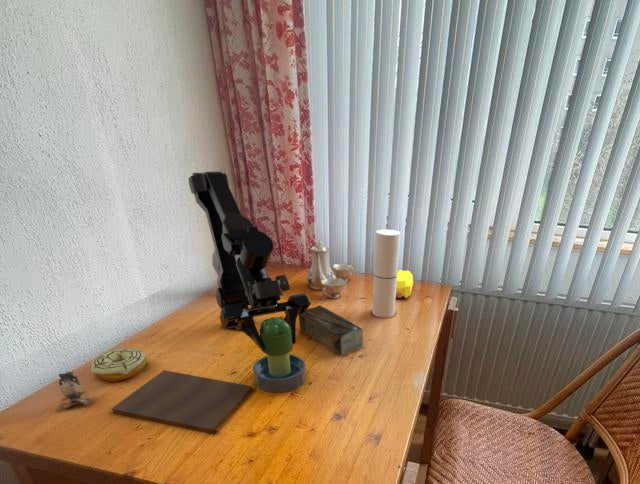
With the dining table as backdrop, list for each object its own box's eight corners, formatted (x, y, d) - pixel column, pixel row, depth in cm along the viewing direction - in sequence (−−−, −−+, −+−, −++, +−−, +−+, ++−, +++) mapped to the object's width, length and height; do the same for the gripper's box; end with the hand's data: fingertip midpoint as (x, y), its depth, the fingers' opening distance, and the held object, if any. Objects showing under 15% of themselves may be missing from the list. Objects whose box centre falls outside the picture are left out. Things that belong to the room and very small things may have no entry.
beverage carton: (340, 357, 99) (340, 334, 95) (298, 331, 110) (296, 309, 106) (363, 348, 104) (364, 325, 100) (320, 324, 115) (319, 303, 111)
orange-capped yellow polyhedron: (387, 299, 134) (409, 302, 133) (388, 280, 130) (411, 283, 130) (393, 282, 149) (413, 284, 148) (395, 265, 145) (415, 267, 144)
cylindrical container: (368, 314, 122) (371, 232, 108) (377, 306, 128) (381, 228, 114) (389, 319, 120) (395, 236, 106) (397, 311, 126) (404, 231, 112)
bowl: (245, 389, 85) (243, 374, 83) (269, 364, 94) (267, 350, 92) (294, 398, 83) (292, 383, 81) (313, 372, 93) (312, 357, 90)
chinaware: (346, 307, 130) (352, 258, 121) (297, 299, 129) (299, 249, 120) (353, 279, 153) (358, 237, 144) (312, 272, 152) (314, 229, 143)
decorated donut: (85, 383, 84) (78, 368, 82) (110, 358, 92) (104, 344, 90) (135, 383, 85) (129, 369, 82) (155, 358, 93) (151, 345, 91)
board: (113, 413, 76) (111, 408, 75) (165, 374, 88) (163, 369, 88) (214, 434, 73) (212, 429, 72) (253, 390, 85) (252, 386, 84)
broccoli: (259, 376, 85) (251, 322, 78) (273, 361, 91) (266, 309, 83) (287, 381, 84) (282, 327, 77) (299, 366, 90) (295, 314, 82)
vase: (64, 395, 80) (51, 370, 76) (95, 390, 82) (84, 366, 78) (57, 410, 76) (44, 385, 72) (90, 405, 78) (79, 380, 74)
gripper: (212, 267, 72) (239, 344, 71) (305, 256, 81) (329, 324, 80) (210, 293, 82) (233, 361, 81) (293, 281, 91) (315, 342, 90)
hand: (279, 346), depth 83 cm, fingers closed on broccoli, 6 cm apart
